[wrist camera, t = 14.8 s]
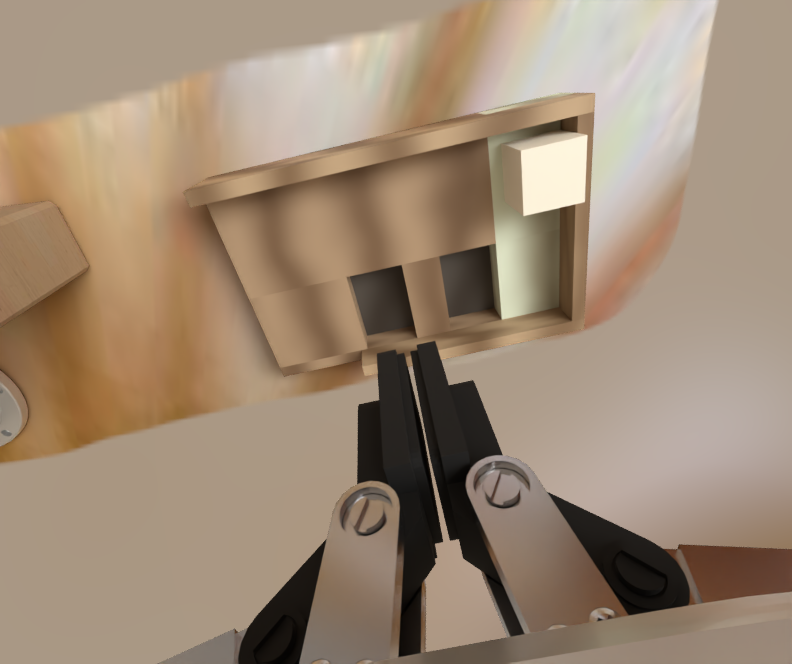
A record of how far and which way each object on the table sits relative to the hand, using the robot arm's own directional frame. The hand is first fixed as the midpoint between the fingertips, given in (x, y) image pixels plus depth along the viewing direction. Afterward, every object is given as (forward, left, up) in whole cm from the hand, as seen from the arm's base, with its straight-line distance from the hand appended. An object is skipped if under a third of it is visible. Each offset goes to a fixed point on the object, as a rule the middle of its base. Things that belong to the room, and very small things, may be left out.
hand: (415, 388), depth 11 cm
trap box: (+1, -4, -23) cm, 23 cm away
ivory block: (+11, 0, -21) cm, 23 cm away
